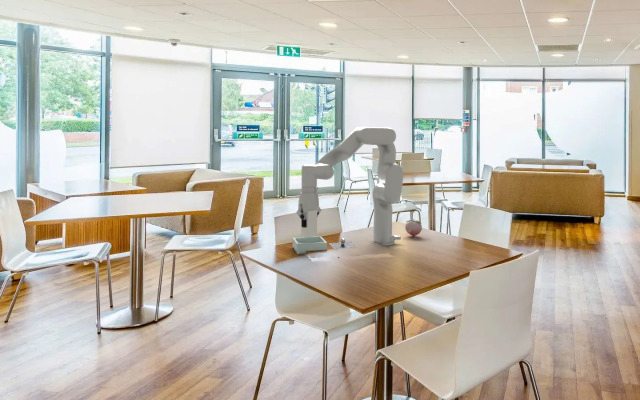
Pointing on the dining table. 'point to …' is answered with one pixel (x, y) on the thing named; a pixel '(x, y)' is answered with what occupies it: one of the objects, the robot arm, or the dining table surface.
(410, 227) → the decorative fruit
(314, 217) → the light grey block
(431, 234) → the dining table surface
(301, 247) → the bin
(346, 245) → the stud base
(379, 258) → the dining table surface
